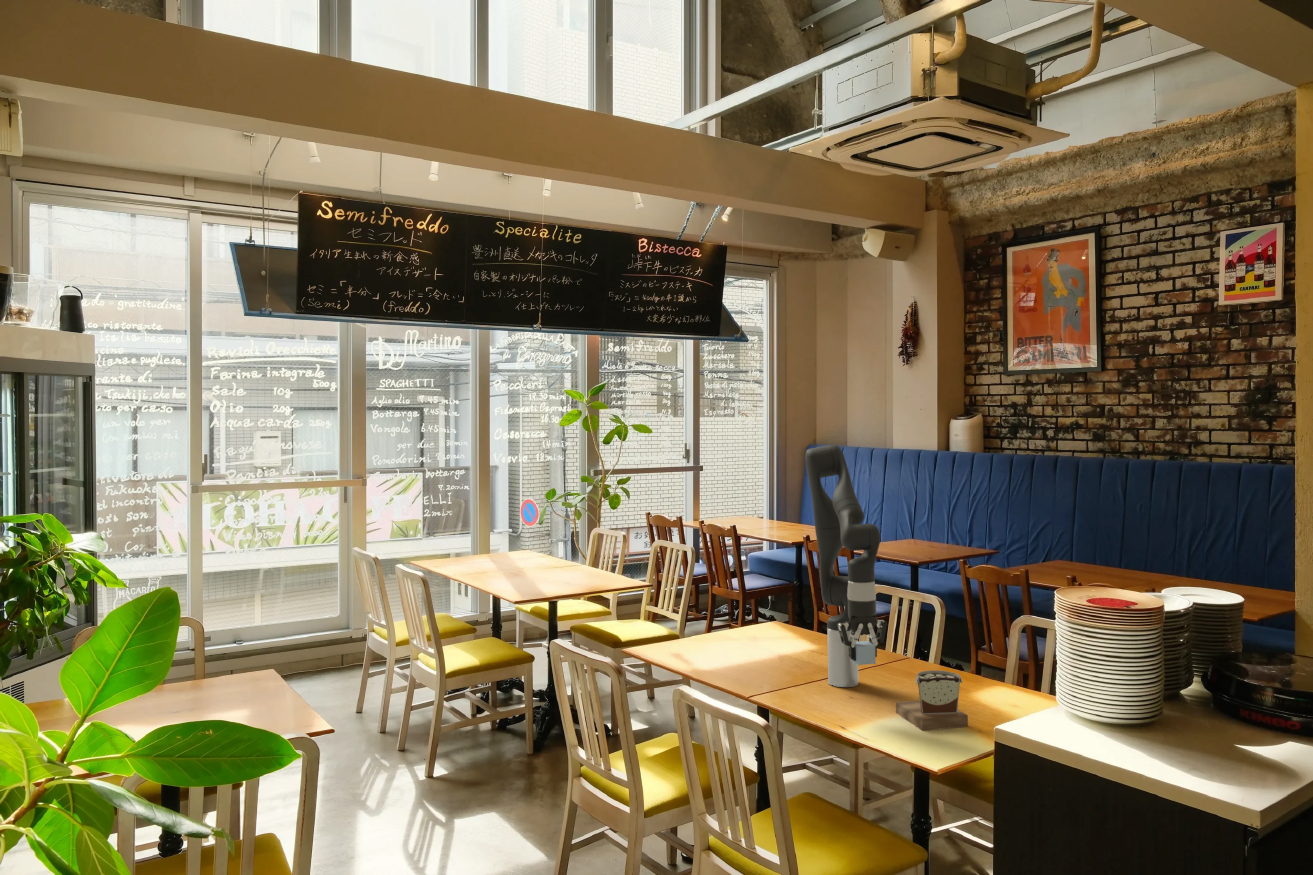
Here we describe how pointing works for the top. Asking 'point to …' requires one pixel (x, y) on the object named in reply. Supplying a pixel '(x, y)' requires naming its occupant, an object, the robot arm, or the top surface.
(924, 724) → the walnut slab
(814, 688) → the top surface
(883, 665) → the top surface
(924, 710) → the food container
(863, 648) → the slate cube
